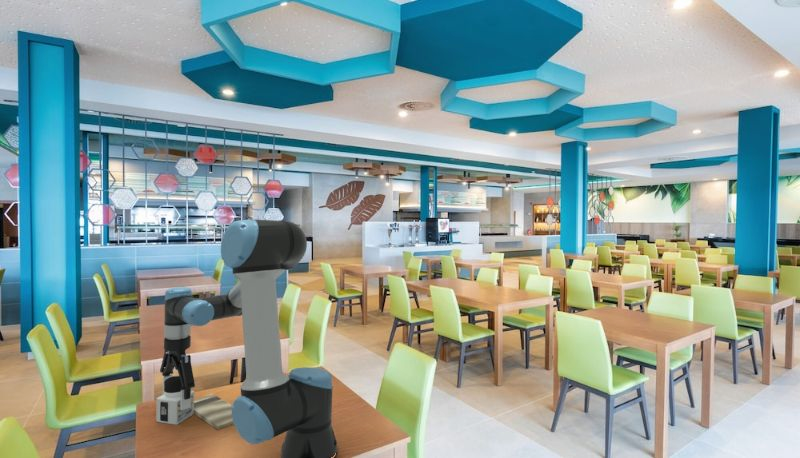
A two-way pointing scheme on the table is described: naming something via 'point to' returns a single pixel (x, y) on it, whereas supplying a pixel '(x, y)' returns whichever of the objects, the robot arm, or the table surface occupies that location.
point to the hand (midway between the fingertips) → (176, 401)
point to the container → (172, 403)
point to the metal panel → (214, 411)
